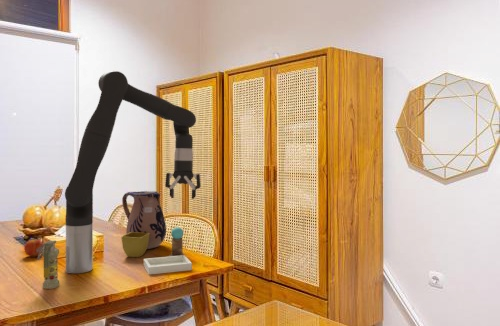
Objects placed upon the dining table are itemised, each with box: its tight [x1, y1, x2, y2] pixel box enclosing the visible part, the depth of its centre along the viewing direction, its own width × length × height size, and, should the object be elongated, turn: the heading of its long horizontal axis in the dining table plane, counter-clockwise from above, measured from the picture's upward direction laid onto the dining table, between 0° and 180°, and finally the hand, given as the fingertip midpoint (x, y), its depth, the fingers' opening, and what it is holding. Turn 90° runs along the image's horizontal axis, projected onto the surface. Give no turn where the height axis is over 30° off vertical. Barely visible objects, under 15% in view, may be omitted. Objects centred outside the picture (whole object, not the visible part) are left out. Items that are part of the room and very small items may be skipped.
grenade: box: [36, 240, 60, 290], centre depth 137 cm, size 6×7×15 cm
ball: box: [170, 226, 184, 239], centre depth 175 cm, size 5×5×5 cm
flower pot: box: [121, 232, 150, 258], centre depth 176 cm, size 9×9×9 cm
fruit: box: [24, 237, 44, 258], centre depth 173 cm, size 7×7×8 cm
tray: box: [143, 254, 193, 275], centre depth 160 cm, size 16×12×3 cm
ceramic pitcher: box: [121, 190, 167, 250], centre depth 190 cm, size 18×21×25 cm
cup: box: [169, 237, 185, 256], centre depth 176 cm, size 6×6×8 cm
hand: (182, 198), depth 174 cm, fingers open, 8 cm apart
